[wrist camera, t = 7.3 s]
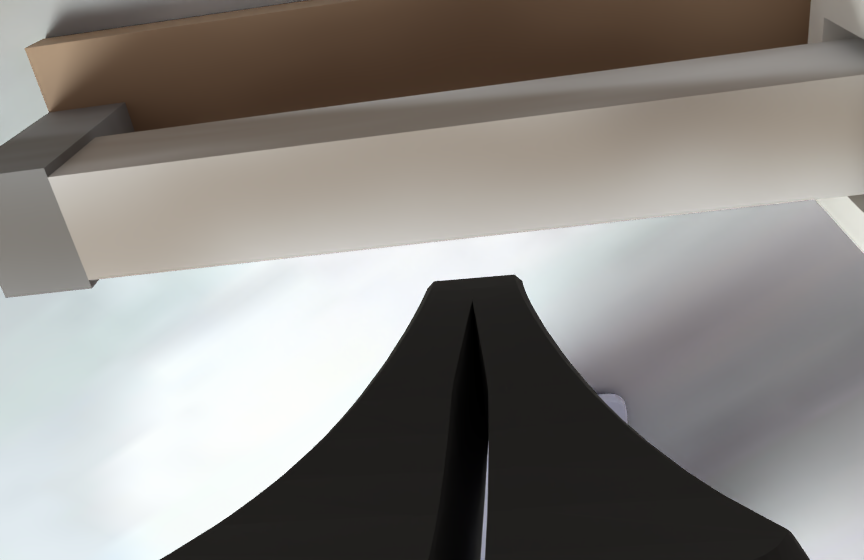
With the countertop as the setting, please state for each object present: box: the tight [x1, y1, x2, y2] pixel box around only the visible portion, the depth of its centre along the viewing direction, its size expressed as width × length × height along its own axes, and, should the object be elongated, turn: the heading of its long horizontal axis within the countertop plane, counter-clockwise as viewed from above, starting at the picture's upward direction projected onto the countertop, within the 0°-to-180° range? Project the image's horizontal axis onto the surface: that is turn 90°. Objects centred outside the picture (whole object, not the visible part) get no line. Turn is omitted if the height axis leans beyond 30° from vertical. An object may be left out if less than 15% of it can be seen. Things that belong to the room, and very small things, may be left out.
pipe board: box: [0, 0, 864, 298], centre depth 18 cm, size 6×25×5 cm, turn 98°
